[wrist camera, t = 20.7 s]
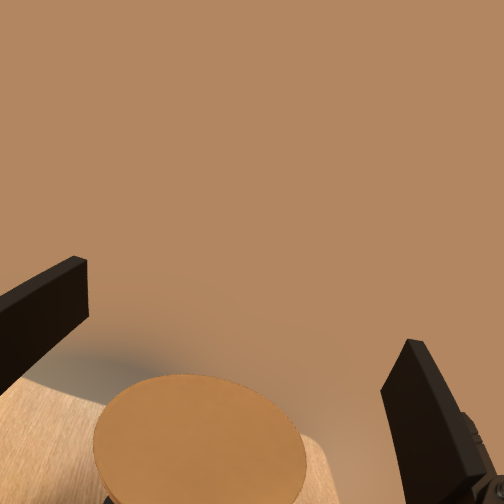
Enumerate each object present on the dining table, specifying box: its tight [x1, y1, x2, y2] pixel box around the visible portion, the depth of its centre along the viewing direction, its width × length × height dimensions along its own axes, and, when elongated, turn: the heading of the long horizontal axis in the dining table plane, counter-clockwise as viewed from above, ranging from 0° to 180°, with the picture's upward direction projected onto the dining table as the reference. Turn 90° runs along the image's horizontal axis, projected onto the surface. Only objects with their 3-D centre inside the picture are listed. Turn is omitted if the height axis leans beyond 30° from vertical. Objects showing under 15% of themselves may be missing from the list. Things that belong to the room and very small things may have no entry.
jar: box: [93, 374, 307, 504], centre depth 11 cm, size 8×8×11 cm
